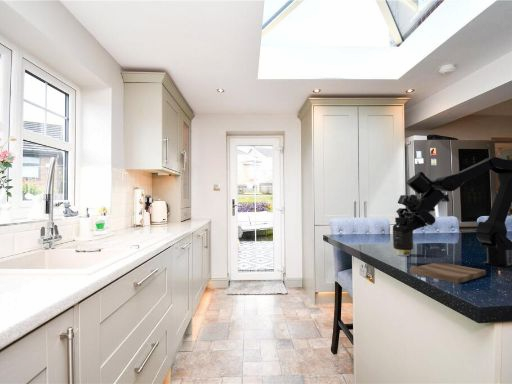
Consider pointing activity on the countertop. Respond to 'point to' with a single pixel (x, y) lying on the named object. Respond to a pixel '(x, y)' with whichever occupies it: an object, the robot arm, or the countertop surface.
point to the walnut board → (448, 272)
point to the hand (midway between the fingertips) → (398, 231)
